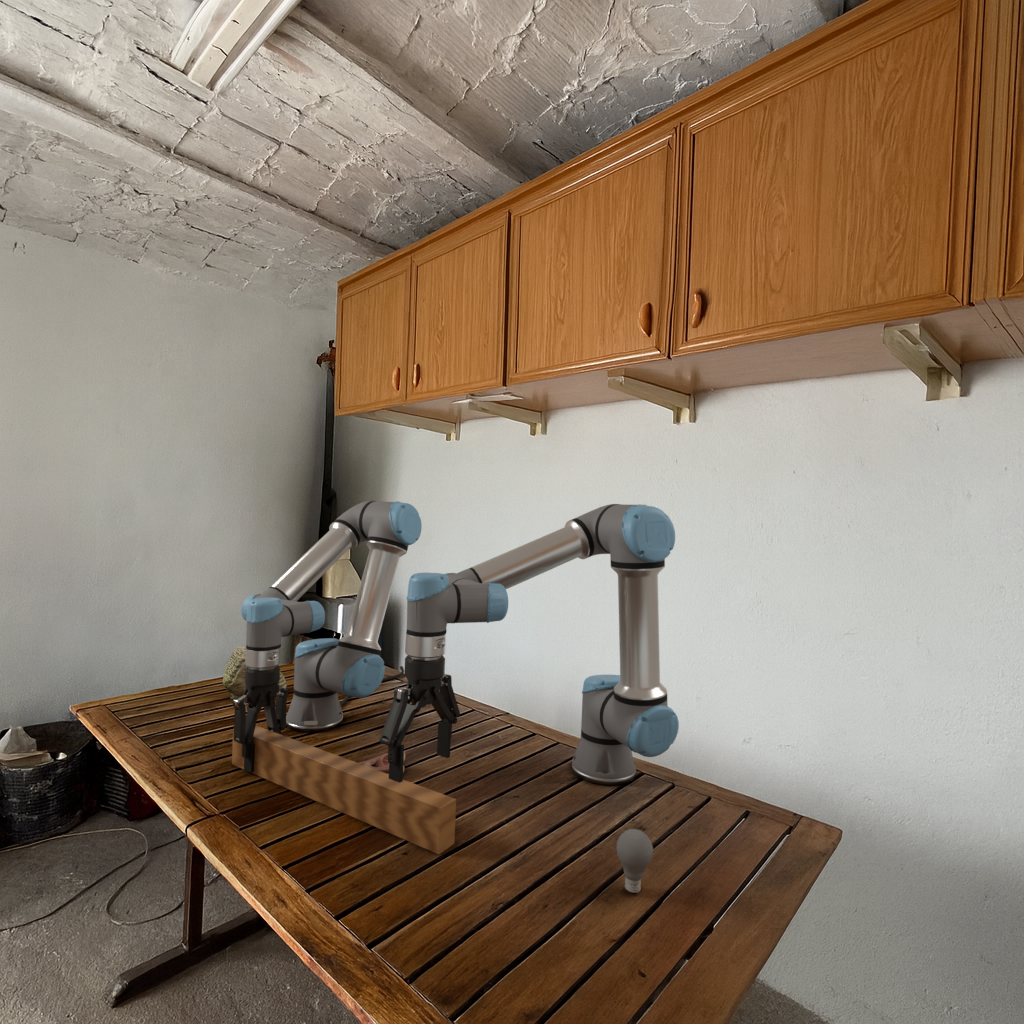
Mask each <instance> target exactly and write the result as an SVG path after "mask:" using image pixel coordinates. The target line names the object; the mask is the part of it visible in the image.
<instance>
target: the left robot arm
mask: <svg viewBox="0 0 1024 1024" xmlns="http://www.w3.org/2000/svg"><path fill="white" fill-rule="evenodd" d="M422 526H423V525H422V519H421V516H420V513H419V511H418V509H416V507H415V506H414V505H412V504H411V503H408V502H401V501H385V500H383V501H382V500H380V501H379V500H365V501H362V502H359V503H357V504H355V505H353V506H352V507H351V508H349V509H347V510H346V511H345V512H343V513H342V514H341V515H340V516H338V517H337V518H336V519H335V520H334V521H332V523H330V524H329V527H328V529H329V530H328V531H327V532H326V533H325V534H324V535H323V536H322V537H321V538H320V539H319V540H318V541H317V542H316V543H315V544H313V545H312V546H311V547H310V548H309V549H308V550H307V551H306V552H305V553H304V554H303V555H302V556H301V557H300V558H299V559H297V561H296V562H294V563H293V564H292V565H291V566H290V567H289V568H288V569H286V571H285V572H283V574H282V575H281V576H280V577H279V578H278V579H276V580H275V582H273V583H272V584H271V585H269V587H268V588H267V589H266V590H264V592H262V593H261V594H260V593H259V594H258V593H257V594H251V595H249V596H248V597H246V598H245V599H244V601H243V602H242V604H241V609H240V611H241V617H242V618H243V620H244V621H245V622H246V629H245V631H246V633H245V634H246V635H245V637H246V638H245V647H246V656H245V665H246V666H247V668H246V669H245V685H246V689H245V692H244V695H243V696H242V697H240V698H232V699H233V700H232V701H231V702H232V705H233V709H234V713H233V714H234V717H233V729H234V741H235V742H238V743H240V744H242V757H244V769H243V770H244V771H246V772H248V773H250V774H253V773H252V772H254V760H255V743H253V742H252V739H253V735H254V731H255V726H257V722H258V717H259V714H261V711H262V708H263V711H264V716H265V722H266V726H267V727H266V728H267V730H270V731H272V732H275V733H278V734H280V735H282V732H281V731H285V729H286V728H287V729H289V730H291V731H294V732H295V731H296V732H301V733H316V732H325V731H329V730H332V729H335V728H337V727H339V726H340V725H342V723H343V722H344V714H343V709H342V706H343V705H344V704H346V703H347V701H348V700H349V699H350V698H357V699H365V698H367V697H370V696H371V695H372V694H373V693H374V692H376V691H377V690H378V688H380V686H381V684H382V682H386V681H390V680H394V679H398V678H400V677H402V676H403V675H404V670H405V667H404V666H403V665H400V666H399V671H400V673H397V674H395V675H390V676H387V677H384V676H385V673H386V666H385V660H384V659H383V658H382V657H381V651H382V648H381V646H380V644H379V642H378V641H379V637H380V633H381V630H382V627H383V623H384V619H385V615H386V611H387V608H388V604H389V599H390V596H391V592H392V588H393V584H394V581H395V577H396V573H397V571H398V565H399V562H400V558H401V557H403V556H405V555H406V554H407V553H408V549H409V546H412V545H413V544H415V543H417V541H418V540H419V539H420V536H421V533H422ZM364 542H365V544H366V546H367V547H368V550H369V551H368V555H367V559H366V561H365V567H364V569H363V573H362V577H361V580H360V584H359V588H358V590H357V595H356V598H355V602H354V606H353V608H352V612H351V613H352V614H351V615H350V620H349V624H348V627H347V631H346V634H345V635H344V636H342V637H341V638H339V639H338V638H335V637H333V638H332V637H329V638H315V639H308V640H304V641H302V642H299V643H298V644H297V645H296V646H295V652H294V653H295V654H294V656H293V659H294V661H293V662H294V663H293V664H294V668H293V695H292V696H293V697H292V699H291V702H290V704H289V708H288V711H287V706H288V705H287V704H288V703H287V702H288V695H289V693H290V688H288V687H282V686H280V687H279V684H278V682H279V681H280V672H281V667H280V664H281V657H282V656H281V655H282V654H281V653H282V652H281V651H282V639H283V638H285V637H290V636H296V635H297V636H298V635H302V634H310V633H311V632H315V631H318V630H320V629H322V627H323V626H324V624H325V620H326V612H325V608H324V606H323V605H322V604H321V603H320V602H319V601H316V600H305V601H299V600H300V599H301V597H303V596H304V595H305V593H306V592H308V590H309V589H310V588H312V587H313V586H314V584H316V583H317V581H319V580H320V578H322V577H323V575H325V574H326V573H327V572H328V571H329V570H330V569H331V568H332V567H333V566H334V564H336V563H337V562H338V560H340V558H342V557H343V556H344V555H345V554H346V552H348V551H349V550H354V549H355V548H357V546H359V545H360V544H361V543H364ZM338 694H340V695H344V696H345V697H344V699H342V700H341V701H340V699H339V695H338Z"/></svg>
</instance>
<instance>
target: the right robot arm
mask: <svg viewBox="0 0 1024 1024" xmlns="http://www.w3.org/2000/svg"><path fill="white" fill-rule="evenodd" d="M675 542H676V530H675V526H674V524H673V521H672V519H671V518H670V517H669V515H667V514H666V513H665V512H664V510H662V509H661V508H659V507H656V506H652V505H647V504H641V503H640V504H623V503H622V504H621V503H609V504H606V505H602V506H599V507H596V508H595V509H593V510H590V511H587V512H586V513H583V514H581V515H579V516H577V517H575V518H572V519H569V520H567V521H566V522H565V524H564V527H561V528H559V529H558V530H557V529H556V530H555V531H553V532H550V533H548V534H546V535H543V536H541V537H538V538H536V539H534V540H531V541H529V542H527V543H524V544H523V545H520V546H518V547H515V548H513V549H510V550H508V551H506V552H504V553H501V554H499V555H497V556H494V557H492V558H490V559H487V560H485V561H483V562H480V563H478V564H475V565H473V566H470V567H469V568H466V569H463V570H461V571H459V572H446V573H440V572H416V573H414V574H412V575H411V576H410V577H409V579H408V586H407V595H406V631H405V645H404V653H405V654H406V656H405V657H404V673H403V675H404V676H405V677H406V679H407V684H406V686H405V687H400V686H399V687H398V686H396V687H395V688H394V690H393V697H392V703H391V706H390V708H389V711H388V714H387V717H386V720H385V722H384V726H383V728H382V731H381V733H380V737H379V739H378V741H379V743H380V744H382V745H386V746H387V753H388V763H389V779H391V780H394V781H397V782H399V783H400V782H402V781H403V780H404V772H403V765H404V762H405V760H404V752H405V745H404V744H402V742H403V740H404V739H405V738H406V737H405V736H406V734H407V732H408V730H409V729H410V726H411V724H412V722H413V721H414V719H415V717H416V715H417V713H420V711H421V710H422V708H425V707H426V706H427V705H431V706H432V708H433V710H434V711H435V712H436V714H437V715H438V717H439V718H440V721H438V722H437V740H436V741H437V743H436V755H437V756H439V757H442V758H445V759H449V758H451V742H452V741H451V739H452V735H453V733H452V732H453V725H456V724H457V723H458V718H459V717H460V716H461V712H460V708H459V705H458V701H457V698H456V694H455V691H454V688H453V680H452V678H453V677H452V675H451V674H446V673H445V671H446V657H445V656H444V655H445V654H446V641H447V639H446V637H447V628H448V627H447V626H448V624H469V623H487V624H489V623H493V622H501V621H502V620H504V619H505V617H506V616H507V614H508V612H509V611H508V610H509V596H508V595H509V594H508V591H507V590H509V589H510V588H513V587H515V586H517V585H519V584H521V583H524V582H526V581H529V580H530V579H533V578H535V577H537V576H539V575H542V574H544V573H546V572H549V571H551V570H553V569H555V568H557V567H559V566H562V565H564V564H566V563H569V562H571V561H573V560H576V559H577V558H578V559H580V560H586V559H589V558H590V557H594V556H597V555H609V556H610V557H609V558H610V568H611V569H612V570H613V571H614V572H615V573H616V575H617V592H618V596H617V597H618V599H617V600H618V631H619V632H618V638H619V640H618V641H619V674H593V675H590V676H587V677H586V678H585V679H584V680H583V684H582V690H581V694H582V699H581V700H582V701H581V721H580V722H581V723H580V724H581V725H580V738H579V741H578V744H577V746H576V749H575V751H574V754H573V757H572V761H571V771H572V772H573V774H574V775H575V776H577V777H578V778H580V780H581V779H582V780H583V781H585V782H588V783H592V784H597V785H604V786H621V785H625V784H628V783H630V782H632V781H634V779H635V778H636V775H637V766H636V762H635V760H634V756H633V753H637V754H638V755H640V756H643V757H646V758H654V757H658V756H660V755H662V754H664V753H666V751H668V750H669V749H670V747H671V745H673V744H674V743H675V740H676V738H677V736H678V733H679V729H680V723H679V717H678V715H677V714H676V713H677V712H675V711H674V710H673V709H672V707H670V706H668V689H667V687H665V685H664V684H663V683H661V669H660V667H661V666H660V665H661V663H660V622H659V621H660V616H659V615H660V614H659V574H660V573H661V572H662V571H663V569H664V568H666V561H665V560H666V559H667V558H668V557H669V556H670V554H671V551H672V550H673V549H674V548H675ZM403 761H404V762H403Z"/></svg>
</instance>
